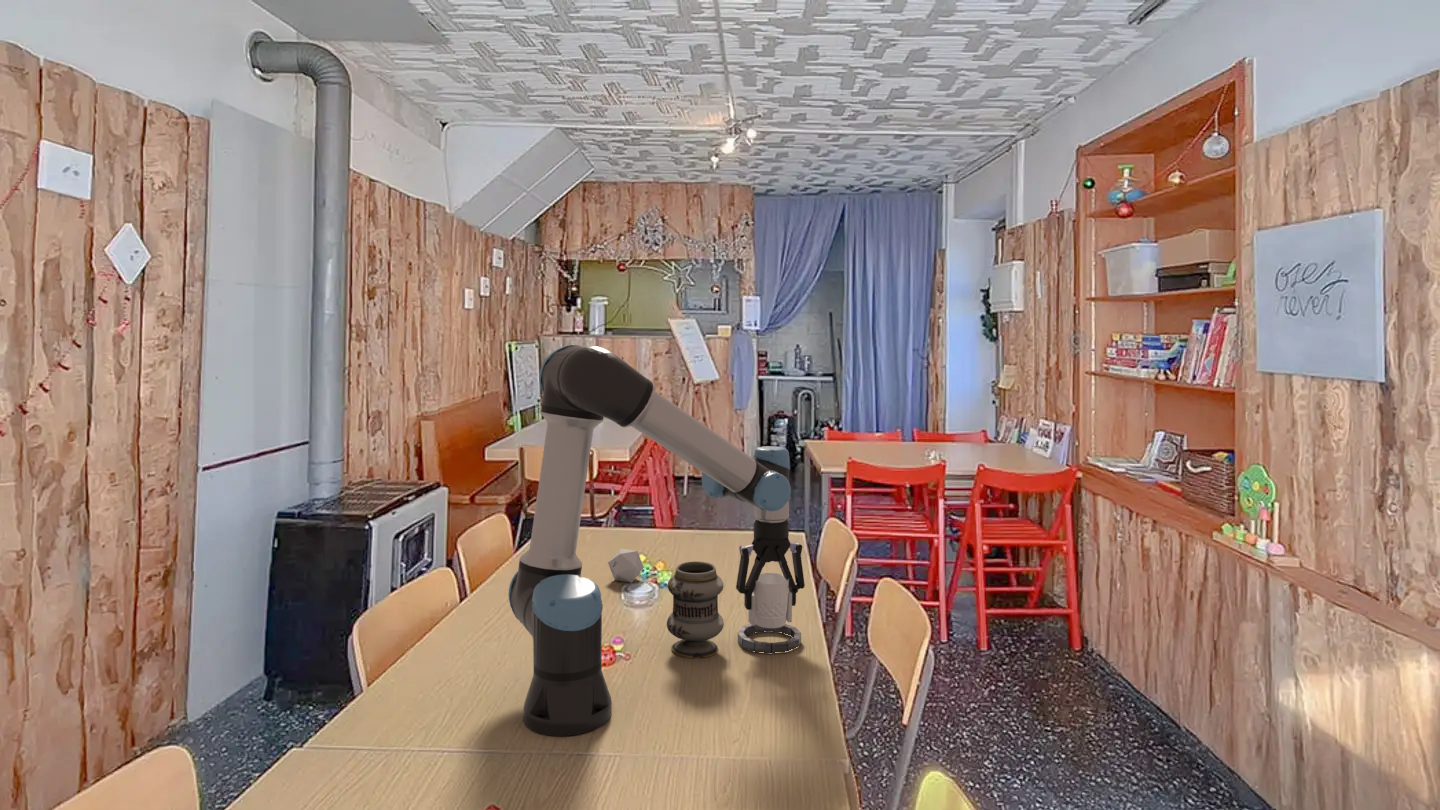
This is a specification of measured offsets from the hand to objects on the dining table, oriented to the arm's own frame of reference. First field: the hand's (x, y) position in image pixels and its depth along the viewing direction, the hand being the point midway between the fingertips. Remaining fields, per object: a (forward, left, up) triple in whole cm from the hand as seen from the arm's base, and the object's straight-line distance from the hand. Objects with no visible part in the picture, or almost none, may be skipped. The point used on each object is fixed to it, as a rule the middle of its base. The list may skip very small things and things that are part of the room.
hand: (770, 621), depth 174 cm
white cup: (0, 0, 0) cm, 0 cm away
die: (+51, +24, -5) cm, 57 cm away
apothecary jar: (0, +17, -5) cm, 18 cm away
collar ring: (0, 0, -4) cm, 4 cm away
